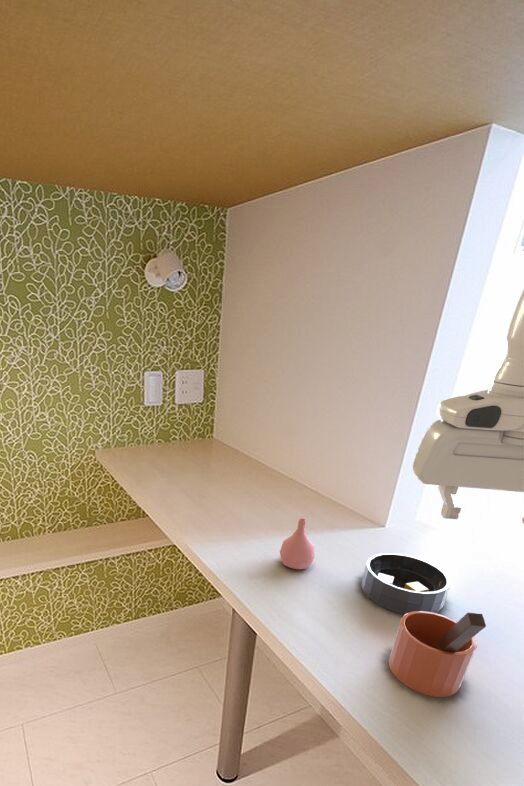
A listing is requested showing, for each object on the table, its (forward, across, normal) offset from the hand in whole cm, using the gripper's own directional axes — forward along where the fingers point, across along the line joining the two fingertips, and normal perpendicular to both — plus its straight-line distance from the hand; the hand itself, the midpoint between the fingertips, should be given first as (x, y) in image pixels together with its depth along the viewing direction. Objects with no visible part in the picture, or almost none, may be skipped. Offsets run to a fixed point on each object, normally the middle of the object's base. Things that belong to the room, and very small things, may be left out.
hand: (489, 521), depth 55 cm
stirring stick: (+28, 0, -4) cm, 28 cm away
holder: (+29, 0, -3) cm, 29 cm away
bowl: (+29, -2, -26) cm, 39 cm away
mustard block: (+28, -4, -24) cm, 38 cm away
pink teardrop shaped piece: (+29, +19, -33) cm, 48 cm away
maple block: (+28, +2, -26) cm, 39 cm away
